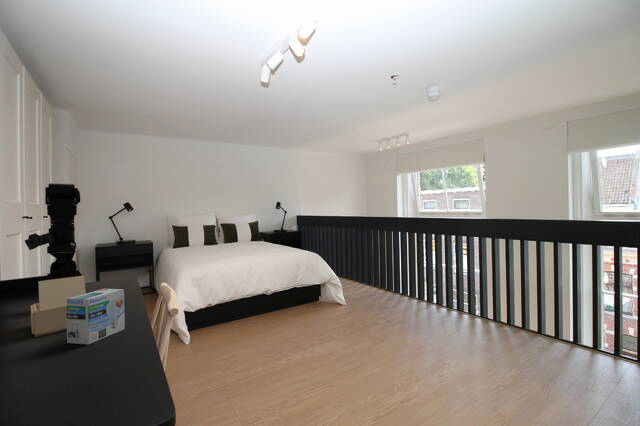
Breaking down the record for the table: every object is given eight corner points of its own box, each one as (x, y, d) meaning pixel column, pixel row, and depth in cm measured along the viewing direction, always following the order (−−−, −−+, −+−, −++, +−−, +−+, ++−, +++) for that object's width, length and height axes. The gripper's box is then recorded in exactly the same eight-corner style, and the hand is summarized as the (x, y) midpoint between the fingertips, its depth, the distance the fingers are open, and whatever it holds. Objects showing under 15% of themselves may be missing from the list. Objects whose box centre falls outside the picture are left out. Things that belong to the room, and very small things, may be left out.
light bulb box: (88, 345, 71) (87, 299, 71) (65, 343, 73) (64, 298, 73) (126, 328, 82) (125, 288, 82) (105, 327, 83) (104, 287, 83)
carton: (30, 325, 87) (30, 304, 87) (85, 314, 95) (85, 295, 96) (32, 337, 77) (31, 313, 77) (93, 324, 86) (92, 302, 86)
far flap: (38, 281, 81) (38, 281, 81) (83, 276, 88) (84, 275, 87) (39, 311, 78) (39, 310, 78) (86, 303, 85) (86, 302, 85)
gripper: (31, 225, 97) (32, 274, 97) (21, 224, 82) (22, 282, 82) (76, 223, 104) (77, 269, 104) (74, 223, 89) (75, 276, 89)
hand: (63, 274), depth 94 cm, fingers closed
